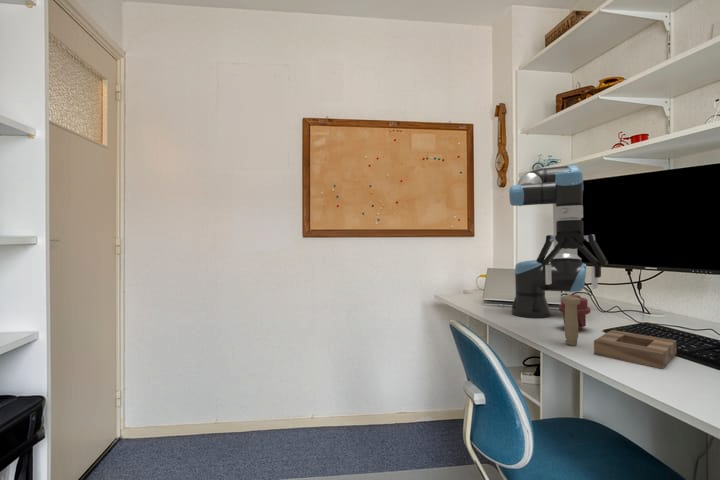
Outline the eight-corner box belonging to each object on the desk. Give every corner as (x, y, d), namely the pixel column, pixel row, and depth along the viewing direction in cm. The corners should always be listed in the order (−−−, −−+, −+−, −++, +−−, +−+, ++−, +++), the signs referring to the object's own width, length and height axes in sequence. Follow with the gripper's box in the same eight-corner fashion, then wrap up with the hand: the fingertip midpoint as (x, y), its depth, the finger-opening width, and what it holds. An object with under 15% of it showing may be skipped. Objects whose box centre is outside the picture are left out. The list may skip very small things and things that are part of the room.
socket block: (611, 342, 118) (611, 329, 118) (676, 354, 106) (676, 340, 106) (594, 354, 108) (593, 340, 108) (662, 368, 96) (662, 353, 95)
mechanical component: (584, 325, 138) (595, 333, 128) (555, 325, 140) (564, 332, 130) (583, 293, 138) (595, 298, 128) (554, 293, 140) (563, 298, 130)
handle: (568, 347, 114) (567, 300, 114) (559, 341, 121) (558, 296, 120) (584, 347, 114) (583, 299, 113) (574, 341, 120) (573, 296, 120)
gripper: (525, 221, 123) (526, 283, 124) (611, 217, 104) (612, 291, 105) (535, 221, 128) (536, 281, 129) (619, 217, 109) (620, 288, 109)
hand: (570, 286), depth 117 cm, fingers open, 13 cm apart
